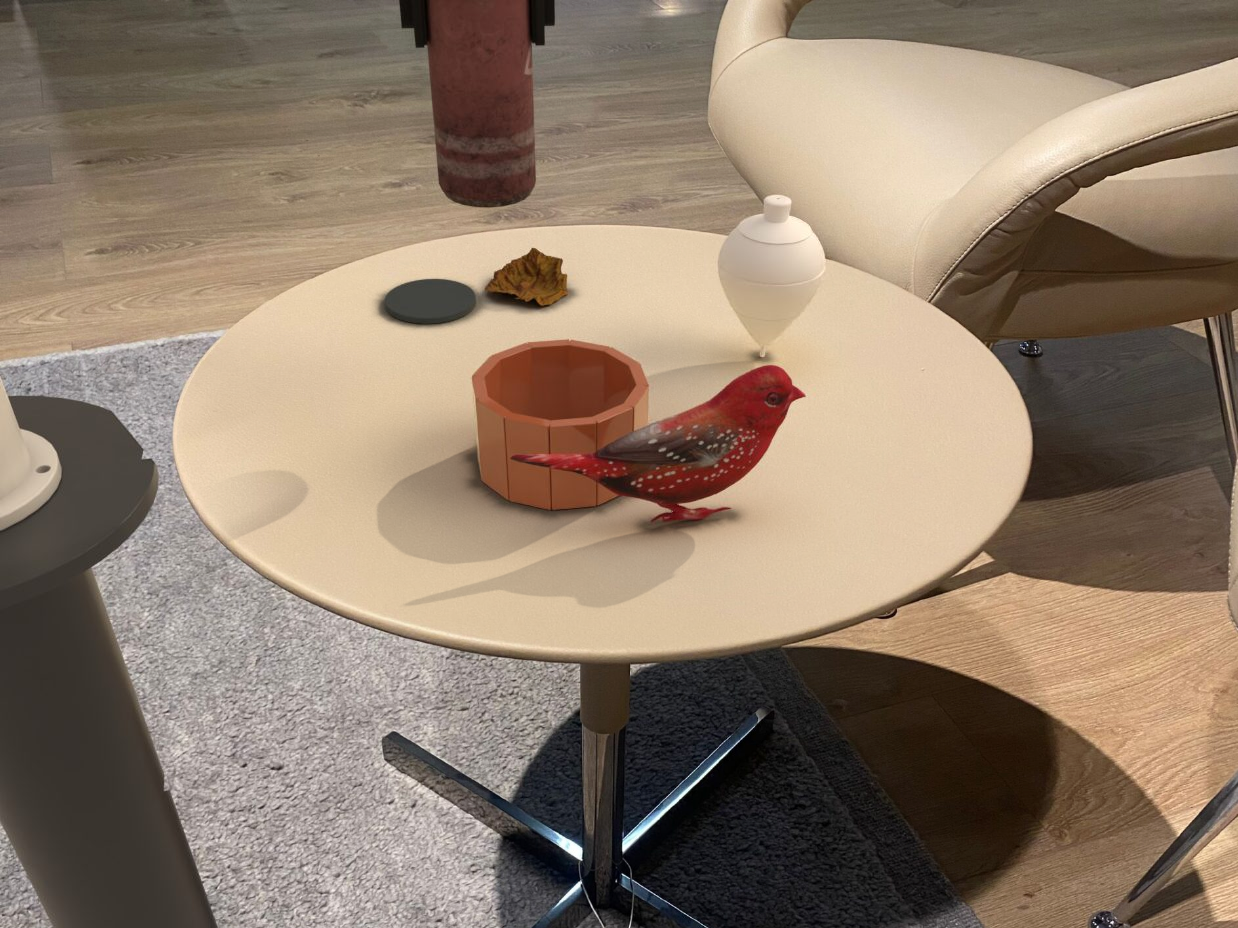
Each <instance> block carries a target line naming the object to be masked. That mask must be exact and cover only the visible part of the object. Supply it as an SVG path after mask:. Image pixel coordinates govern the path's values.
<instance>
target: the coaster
mask: <svg viewBox="0 0 1238 928" xmlns="http://www.w3.org/2000/svg"><path fill="white" fill-rule="evenodd" d="M476 304H477V297H476V293H475V291H474V290H473V289H472V288H471V287H470V286H469V285H467V284H465V283H463V282H460V281H456V280H452V279H446V278H423V279H416V280H411V281H407V282H404V283H401V284H400V285H397V286H395V287H393V288H392V289H390V290H389V291H388V292H387V294H386V295H385V298H384V306H385V310H386V311H387V312H388V314H389V315H390V316H391V317H393V318H395V319H397V320H399V321H402V322H407V323H411V324H421V325H422V324H423V325H431V324H433V325H434V324H441V323H443V324H444V323H446V322H452V321H455V320H458V319H460V318H463V317H465V316H466V315H468V314H469V313H471V312H472V311H473V310H474V308H475V307H476Z"/></svg>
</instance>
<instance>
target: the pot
mask: <svg viewBox="0 0 1238 928" xmlns="http://www.w3.org/2000/svg"><path fill="white" fill-rule="evenodd" d="M643 369H644V368H643V367H642V365H641V363H640V362H639V361H637V360H636V359H634V358H632V357H630V356H629V355H627V354H625V353H624V352H621V351H620V350H618V349H616V348H615V347H612V346H609V345H604V344H599V343H598V344H597V343H592V342H587V341H581V340H576V339H569V338H568V339H566V338H565V339H553V340H541V341H540V340H539V341H528V342H524V343H521V344H518V345H516V346H513V347H510V348H508V349H505V350H502V351H499V352H497V353H494V354H492V355H490V356H489V357H488V358H486V359H485V361H484V362H483V363H482V364H481V366H479V368H478V369H477V370H476V371H475V372H474V373H473V374H472V375H471V389H472V390H471V391H472V399H473V400H472V403H473V416H474V428H475V429H474V430H475V439H476V440H475V443H476V454H477V463H478V468H479V474H480V479H481V481H482V482H483V484H485V485H487V486H488V488H490V489H491V490H493V491H494V492H496V493H497V494H499V495H500V496H501V497H502V498H504V499H505V500H506V501H509V502H512V503H516V504H521V505H525V506H530V507H534V508H539V509H544V510H549V511H551V510H552V511H558V510H568V509H577V508H578V509H579V508H589V507H596V506H599V505H600V506H601V505H603V504H605V503H606V502H608V501H611V500H613V499H614V498H617V497H619V496H620V495H617V494H615V493H613V492H612V491H610V490H608V489H607V488H605V487H604V486H602V485H601V484H599V483H598V482H595V481H594V480H592V479H591V478H588V477H586V476H584V475H581V474H578V473H575V472H570V471H564V470H558V469H553V468H549V467H542V466H537V465H531V464H526V463H521V462H517V461H515V460H512V459H510V458H511V457H512V456H514V455H525V454H589V453H594V452H596V451H598V450H599V449H601V448H603V447H605V446H606V445H608V444H610V443H611V442H613V441H615V440H617V439H619V438H621V437H623V436H625V435H627V434H629V433H631V432H633V431H635V430H638V429H640V428H642V427H645V426H647V425H649V399H650V397H649V394H650V392H649V391H650V384H649V382H648V379H647V377H646V374H645V372H644V370H643Z"/></svg>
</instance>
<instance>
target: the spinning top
mask: <svg viewBox="0 0 1238 928" xmlns="http://www.w3.org/2000/svg"><path fill="white" fill-rule="evenodd" d="M792 204H793V203H792V199H791V198H790V197H788V196H787V195H782V194H771V195H767V196H766V197H764V199H763V213H759V214H755V215H751V216H748V217H746V218H744V219H742V220H741V221H740V222H739V223H738V225H736V227H735V228H734V229H733V230H731V232H730V233H729V234H728V235H727V237H726V238H725V239H724V241H723V242H722V245H721V247H720V250H719V252H718V258H717V275H718V278H719V279H718V280H719V282H720V285H721V288H722V290H723V292H724V295H725V297H726V299H727V301H728V303H729V305H730V307H731V309H732V311H733V312H734V314H735V315H736V317H737V318H738V320H739V322H740V324H742V326H743V328H744V329H745V330H746V332H747V333H748V334H749V336H750V337H751V338H752V339H753V341H754V342H755V343H756V344H757V345H758V346H760V349H759V356H760V357H761V358H764V357H765V356H766V347H768V346H770V345H771V344H772V343H774V342H775V341H776V340H777V339H779V337H780V336H782V335H783V334H784V333H785V332H786V331H787V330H788V329H789V328H790V327H791V326H792V325H793V323H794V322H795V321H796V320H797V319H798V318H799V317H800V316H801V315H802V314H803V313H804V312H805V310H806V309H807V307H808V306H809V305H810V303H811V302H812V300H813V299H814V297H815V296H816V294H817V293H818V291H819V290H820V288H821V286H822V283H823V279H824V278H825V277H824V276H825V273H826V254H825V251H824V248H823V245H822V243H821V242H820V240H819V238H818V236H817V235H816V233H815V232H814V231H813V230H812V227H811V226H810V225H809V224H808V223H807V222H805V221H804V220H802V219H800V218H798V217H795V216H793V215H790V213H791V208H792Z"/></svg>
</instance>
